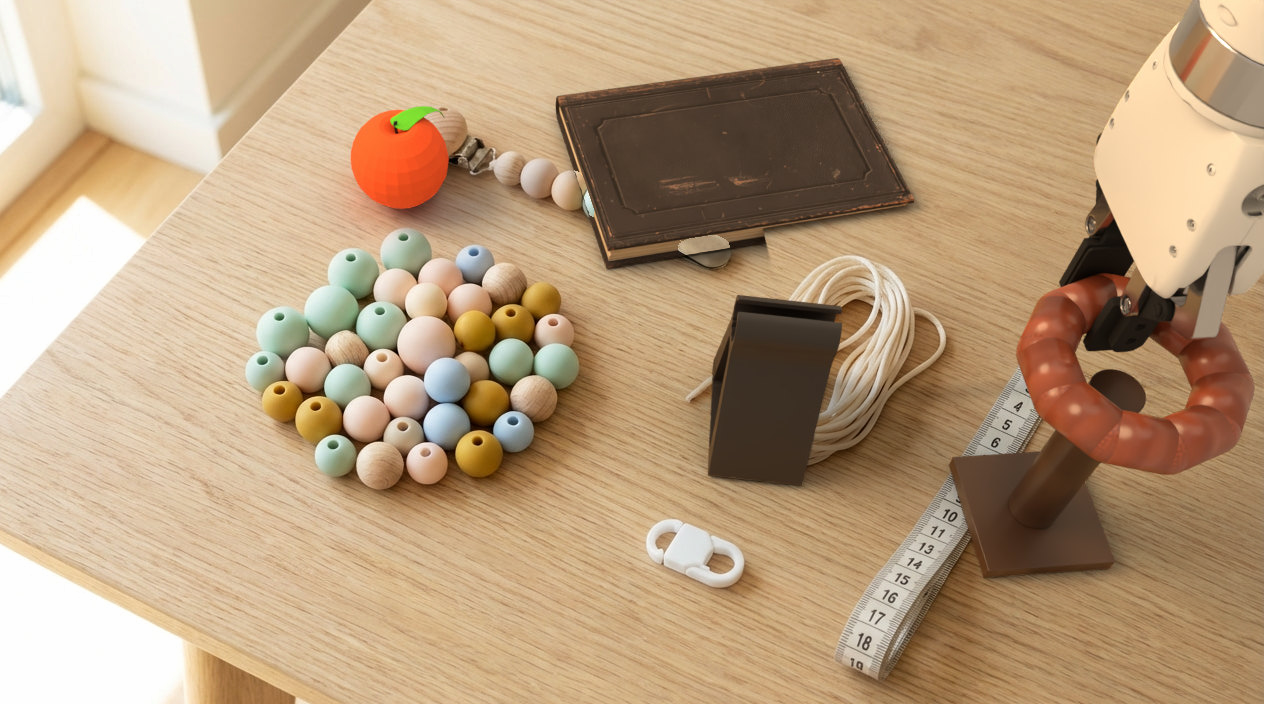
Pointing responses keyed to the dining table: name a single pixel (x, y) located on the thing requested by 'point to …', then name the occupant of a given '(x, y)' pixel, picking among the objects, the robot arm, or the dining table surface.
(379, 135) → the clementine
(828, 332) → the phone stand
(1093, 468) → the peg
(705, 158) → the hardcover book
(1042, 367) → the ring
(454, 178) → the dining table surface
